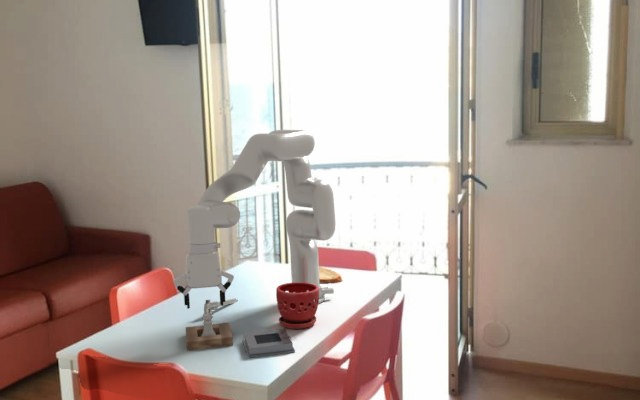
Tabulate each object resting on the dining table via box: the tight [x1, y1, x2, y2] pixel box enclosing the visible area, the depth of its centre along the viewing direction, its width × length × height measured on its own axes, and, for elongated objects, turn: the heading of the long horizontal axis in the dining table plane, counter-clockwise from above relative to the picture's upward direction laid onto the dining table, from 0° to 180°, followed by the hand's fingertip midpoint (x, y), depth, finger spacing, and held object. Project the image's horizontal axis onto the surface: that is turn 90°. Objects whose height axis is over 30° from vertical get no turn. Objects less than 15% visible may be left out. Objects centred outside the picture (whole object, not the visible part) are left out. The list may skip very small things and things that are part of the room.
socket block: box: [184, 322, 234, 351], centre depth 200 cm, size 13×13×2 cm
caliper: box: [203, 298, 239, 315], centre depth 228 cm, size 20×1×6 cm, turn 158°
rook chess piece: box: [201, 312, 216, 337], centre depth 200 cm, size 4×4×8 cm
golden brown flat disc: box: [319, 266, 343, 285], centre depth 263 cm, size 18×18×4 cm
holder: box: [242, 328, 296, 359], centre depth 193 cm, size 13×13×2 cm
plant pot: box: [275, 282, 319, 330], centre depth 210 cm, size 13×13×12 cm
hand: (205, 305), depth 198 cm, fingers open, 9 cm apart
